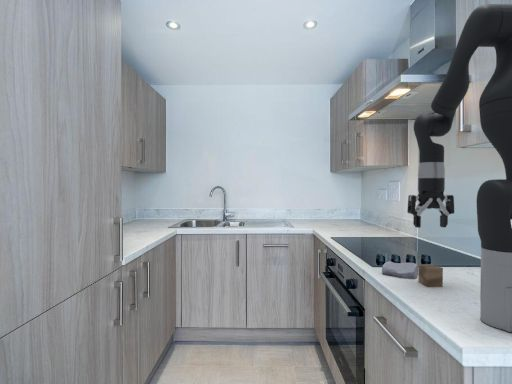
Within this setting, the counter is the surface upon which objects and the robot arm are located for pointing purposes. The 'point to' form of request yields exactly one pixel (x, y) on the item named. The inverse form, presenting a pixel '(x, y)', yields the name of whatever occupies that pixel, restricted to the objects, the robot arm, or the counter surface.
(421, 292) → the counter surface
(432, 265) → the walnut block
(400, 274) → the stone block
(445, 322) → the counter surface
